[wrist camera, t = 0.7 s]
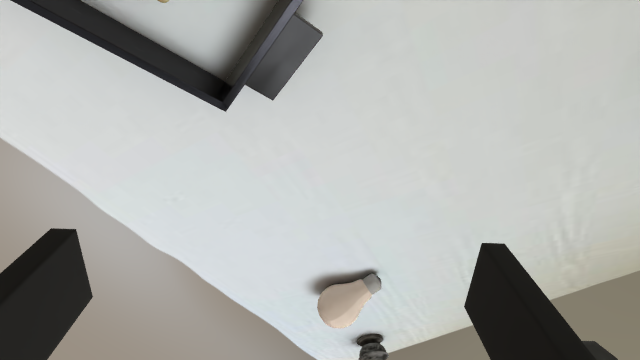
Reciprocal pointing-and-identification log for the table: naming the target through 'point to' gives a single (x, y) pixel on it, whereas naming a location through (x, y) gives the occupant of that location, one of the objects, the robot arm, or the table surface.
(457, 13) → the table surface
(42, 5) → the pan
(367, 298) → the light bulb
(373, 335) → the grey chess piece
